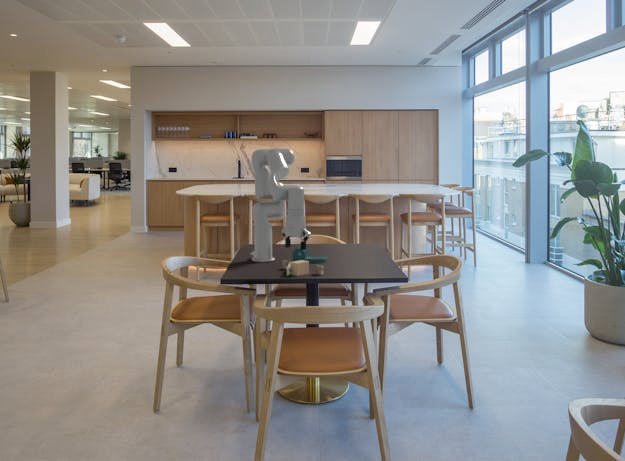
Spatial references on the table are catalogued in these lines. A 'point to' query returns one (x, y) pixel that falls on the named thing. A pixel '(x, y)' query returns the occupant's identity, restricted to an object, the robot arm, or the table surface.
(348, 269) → the table surface
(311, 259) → the bracket
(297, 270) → the block
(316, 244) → the table surface
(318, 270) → the oak fence
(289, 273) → the sage gate
